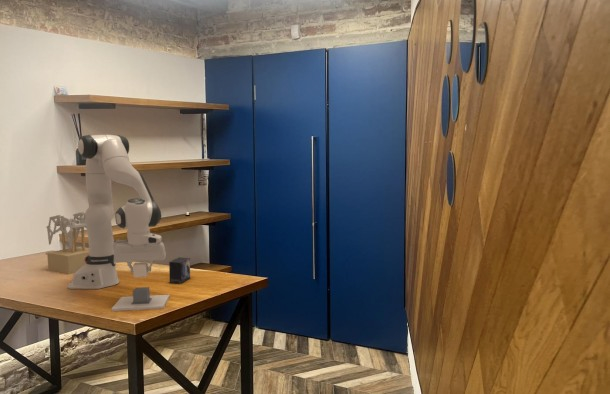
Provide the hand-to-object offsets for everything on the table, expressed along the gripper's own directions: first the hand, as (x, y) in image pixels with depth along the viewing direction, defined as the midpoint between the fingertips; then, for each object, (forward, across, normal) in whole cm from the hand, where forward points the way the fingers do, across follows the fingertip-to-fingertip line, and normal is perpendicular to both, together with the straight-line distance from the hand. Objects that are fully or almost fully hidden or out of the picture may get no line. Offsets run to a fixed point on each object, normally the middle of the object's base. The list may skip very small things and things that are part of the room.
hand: (141, 271), depth 202 cm
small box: (+14, +11, +35) cm, 39 cm away
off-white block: (+2, 0, 0) cm, 2 cm away
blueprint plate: (+14, 0, 0) cm, 14 cm away
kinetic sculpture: (+13, -50, +70) cm, 87 cm away
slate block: (+12, 0, 0) cm, 12 cm away
